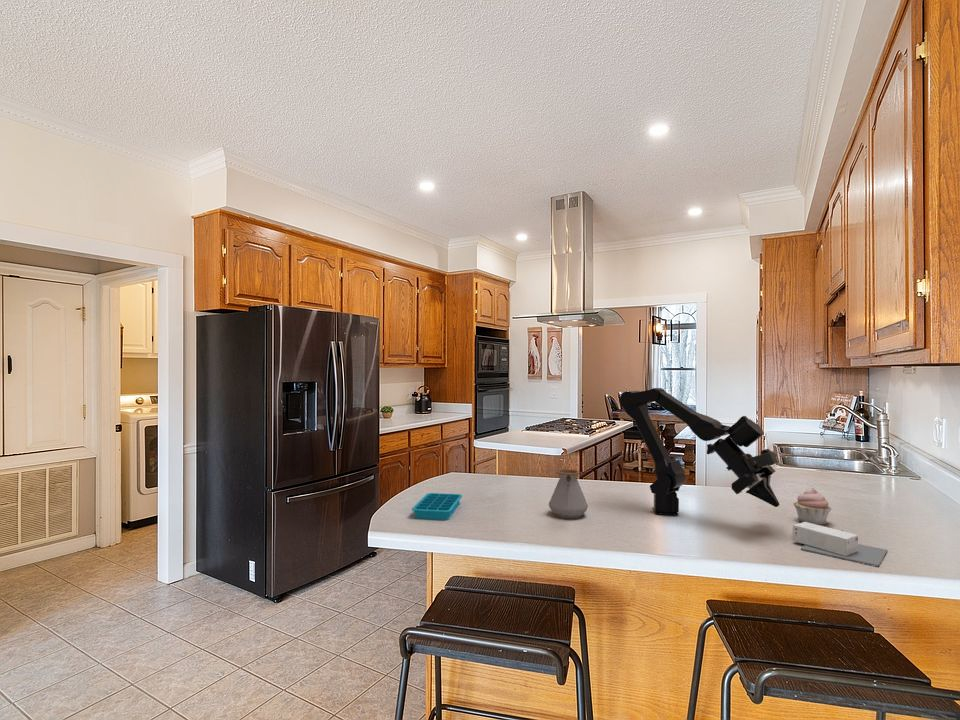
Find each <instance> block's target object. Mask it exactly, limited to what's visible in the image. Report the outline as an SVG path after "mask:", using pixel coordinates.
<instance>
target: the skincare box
mask: <svg viewBox="0 0 960 720" xmlns="http://www.w3.org/2000/svg"><path fill="white" fill-rule="evenodd" d="M791 533H792V535H791V537H792V538H791V540H792V541H793V542H796V543H799V544H803V545H809V546H812V547H816V548H819V549H823V550H826V551H829V552H833V553H836V554H840V555H843V556H847V555H850V554H852V553H855V552H857V551H858V544H859V537H858V536H859V535H858V534H854V533H851V532H848V531H843V530H839V529H835V528H831V527H827V526H824V525H816V524H812V523H808V522H800V523H795V524H793V525H792V532H791Z"/></svg>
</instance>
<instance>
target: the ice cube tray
mask: <svg viewBox="0 0 960 720" xmlns="http://www.w3.org/2000/svg"><path fill="white" fill-rule="evenodd" d="M462 497H463V494H460V493H442V492H441V493H440V492H439V493H438V492H428V493H426V494H425V495H424V496H423V497H422V498H421V499H420V500H419V501H418V502H417V503H416V504H415V505H413V507H412V508H411V510H412V511H414V519H425V520H441V521H443V520H444V521H448V520H449V519H450V518H451V517H452V515H453V514H454V512H455V511H456V510H457V508H458V507H459V506H460V500H462Z"/></svg>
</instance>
